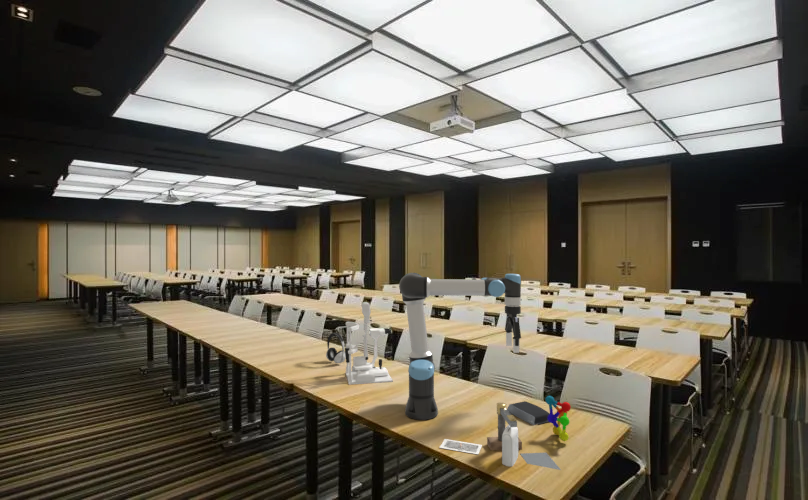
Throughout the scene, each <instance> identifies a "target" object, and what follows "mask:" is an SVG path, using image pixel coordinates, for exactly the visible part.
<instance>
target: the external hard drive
mask: <svg viewBox="0 0 808 500" xmlns="http://www.w3.org/2000/svg"><path fill="white" fill-rule="evenodd" d="M506 409H507V410H508V411H509V412H510V414H511V415H513V416H514V417H515V418H518V419H520V420H523V422H525V423H528V424H530V425H532V426H536V425H543V424H546V423H550V422H549V421H548V415H549V414H550V412H548V411H547V410H546V409H544V408H542V407H540V406H538V405H536V404H533V403H531V402H529V401H520V402H515V403H509V404H508V406H507V407H506Z"/></svg>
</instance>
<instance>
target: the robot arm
mask: <svg viewBox="0 0 808 500" xmlns="http://www.w3.org/2000/svg"><path fill="white" fill-rule="evenodd" d="M521 280H522V279H521V275H520V274H518V273H506V274H505V275H504V277H482V278H480V279H468V278H467V279H466V278H465V279H464V278H462V279H457V278H456V279H455V278H454V279H453V278H452V279H451V278H449V279H448V278H447V279H445V278H444V279H443V278H441V279H440V278H430V277H428V276H422V275H420V274H419V273H417V272H409V273H406V274H405V275H404V276H403V277H401V279H400V281H399V284H398V288H399V292H400V294H401V298H402V302H403V303H404V304H405V306H406V307H405V308H406V314H407V323H408V330H409V331H408V332H409V339H410V348H411V350H410V351H411V352H410V354H409V355H408V359H409V365H408V370H407V371H408V398H407V402H406V405H405V409H404V411H405V412H404V413H405V416H406V417H408V418H409V419H413V420H418V421H419V420H421V421H422V420H423V421H424V420H430V419H433V418H436V417H437V416H439V415H438V414H439V412H438V411H439V410H438V409H439V408H438V406H437V402H436V399H435V369H436V368H435V366H436V365H435V363H434V358H433V357H434V356H433V352H432V351H431V350H430V349H429V348H430V347H429V339H428V333H427V324H426V315H425V307H424V301H426V299H428V298H429V296H451V297H452V296H453V297H454V296H457V297H458V296H459V297H460V296H461V297H462V296H466V297H467V296H469V297H471V296H473V297H475V296H476V297H478V296H479V297H480V296H481V297H494V298H499V297H501V296H503V295H504V305H505V306H504V314H506V318H505V319H506V320H505V327H504V330H505V346H506V347H512V346H513V347H512V349H513V350H512V353H514V354H519V353H520V339H522V336H521V334H522V333H521V328H520V327H521V325H520V317H518V315H521V313H522V309H521V304H522V303H521V301H522V298H521V291H522V289H521V288H522V287H521V286H522V281H521Z"/></svg>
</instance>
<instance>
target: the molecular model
mask: <svg viewBox="0 0 808 500" xmlns="http://www.w3.org/2000/svg"><path fill="white" fill-rule="evenodd" d="M544 400H545V403H546V404H547V405H548V408H549V413H550V414H549V415H548V421H549V422H548V423H549V424H550V423H551V424H552V425H553V428H552V432H553V434H554V435H556V436H558V437H559V439H560V440H561V441H562V442H567V441H568V440H569V437H570V436H569V434H568V433H567V432H566V430H567V426H568V425H569V424H570V419H569V417H568V416H567V415H568V412H569V411H570V410H571V408H572V407H571V404H570V403H569V402H567V401H564V402H559V401H557V400H555V397H553V396H552V395H547V396H546V397H545V399H544ZM553 408H554V409H556V412H555V413H554V411H553V410H554V409H553ZM561 425H562V427H561Z"/></svg>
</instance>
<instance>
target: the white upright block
mask: <svg viewBox="0 0 808 500" xmlns="http://www.w3.org/2000/svg"><path fill="white" fill-rule="evenodd" d="M518 438H519V429H518V426H517V427H510V425H509V424H507V426H505V430H504V432H503V435H502V450H501V463H502V465H503V466H506V467H513V466H515V463H516V462H517V460H518V457H519V449H518Z"/></svg>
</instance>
